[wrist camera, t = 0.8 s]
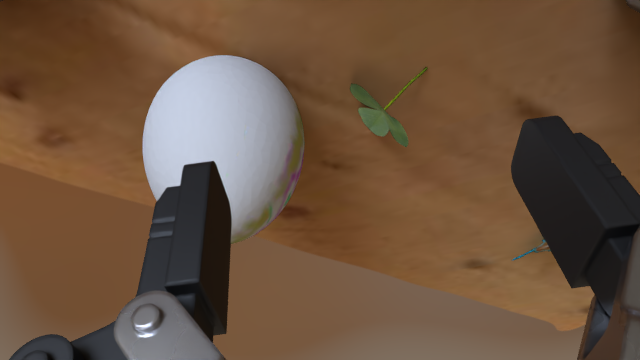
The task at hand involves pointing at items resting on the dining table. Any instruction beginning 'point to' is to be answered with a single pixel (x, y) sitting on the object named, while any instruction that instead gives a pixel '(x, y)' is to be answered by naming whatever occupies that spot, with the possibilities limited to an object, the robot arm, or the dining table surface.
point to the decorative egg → (228, 136)
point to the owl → (634, 4)
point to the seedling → (380, 114)
